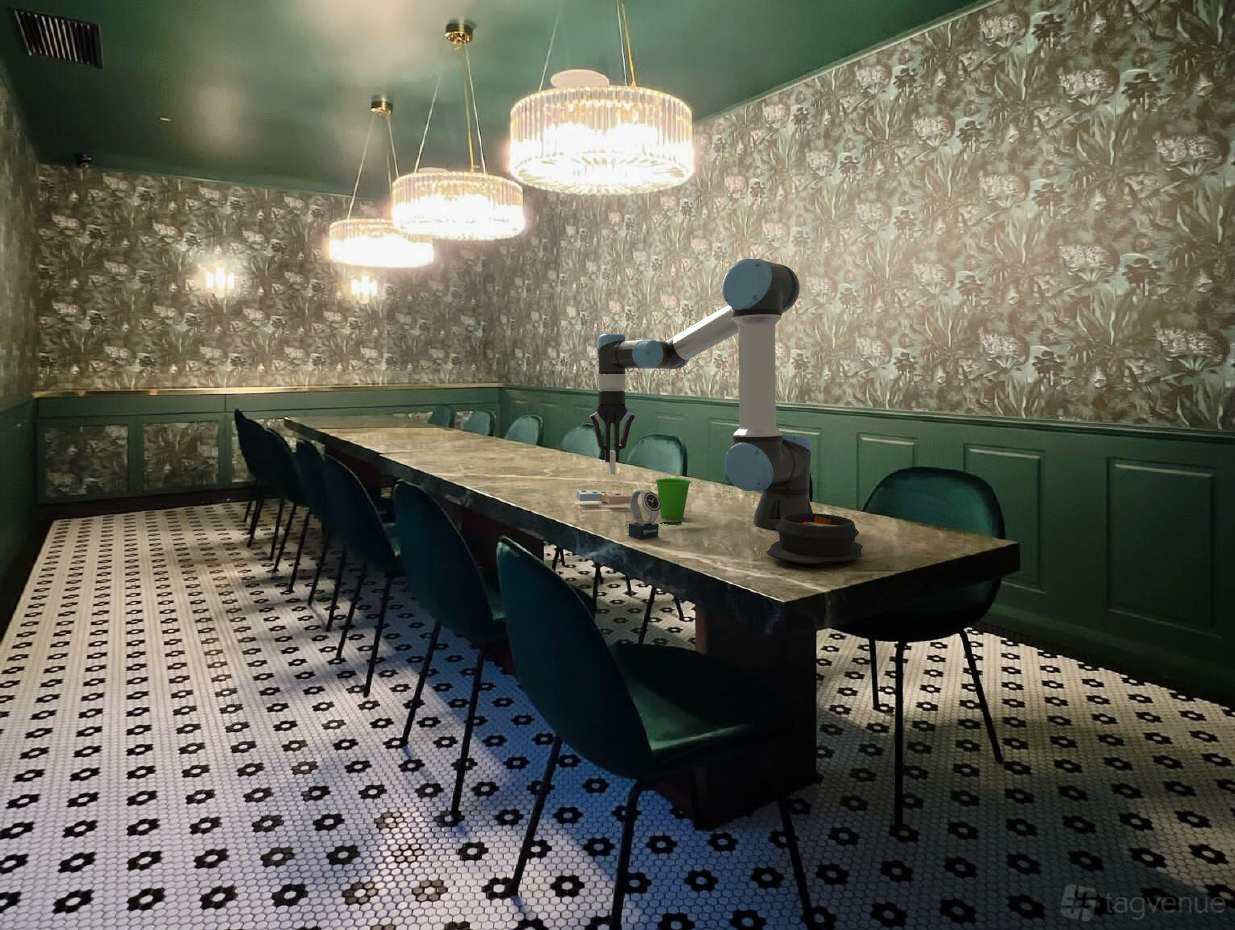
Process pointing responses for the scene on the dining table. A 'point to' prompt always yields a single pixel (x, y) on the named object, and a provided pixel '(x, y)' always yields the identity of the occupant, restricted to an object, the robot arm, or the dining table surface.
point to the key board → (600, 506)
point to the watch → (641, 527)
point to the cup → (672, 498)
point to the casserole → (816, 539)
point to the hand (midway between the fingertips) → (611, 473)
